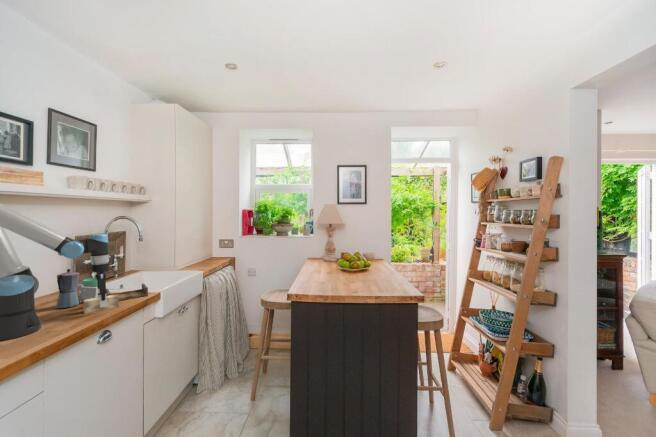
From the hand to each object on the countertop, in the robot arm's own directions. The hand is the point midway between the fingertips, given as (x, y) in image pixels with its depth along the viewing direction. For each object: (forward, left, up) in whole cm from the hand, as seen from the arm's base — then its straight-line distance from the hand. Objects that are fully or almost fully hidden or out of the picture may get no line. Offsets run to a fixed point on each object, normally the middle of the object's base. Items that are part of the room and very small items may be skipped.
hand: (102, 303), depth 147 cm
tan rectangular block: (0, 0, -3) cm, 3 cm away
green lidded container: (-1, +37, -3) cm, 37 cm away
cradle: (+13, +17, -3) cm, 21 cm away
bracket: (-5, +23, -3) cm, 24 cm away
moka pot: (-13, +18, -3) cm, 23 cm away
